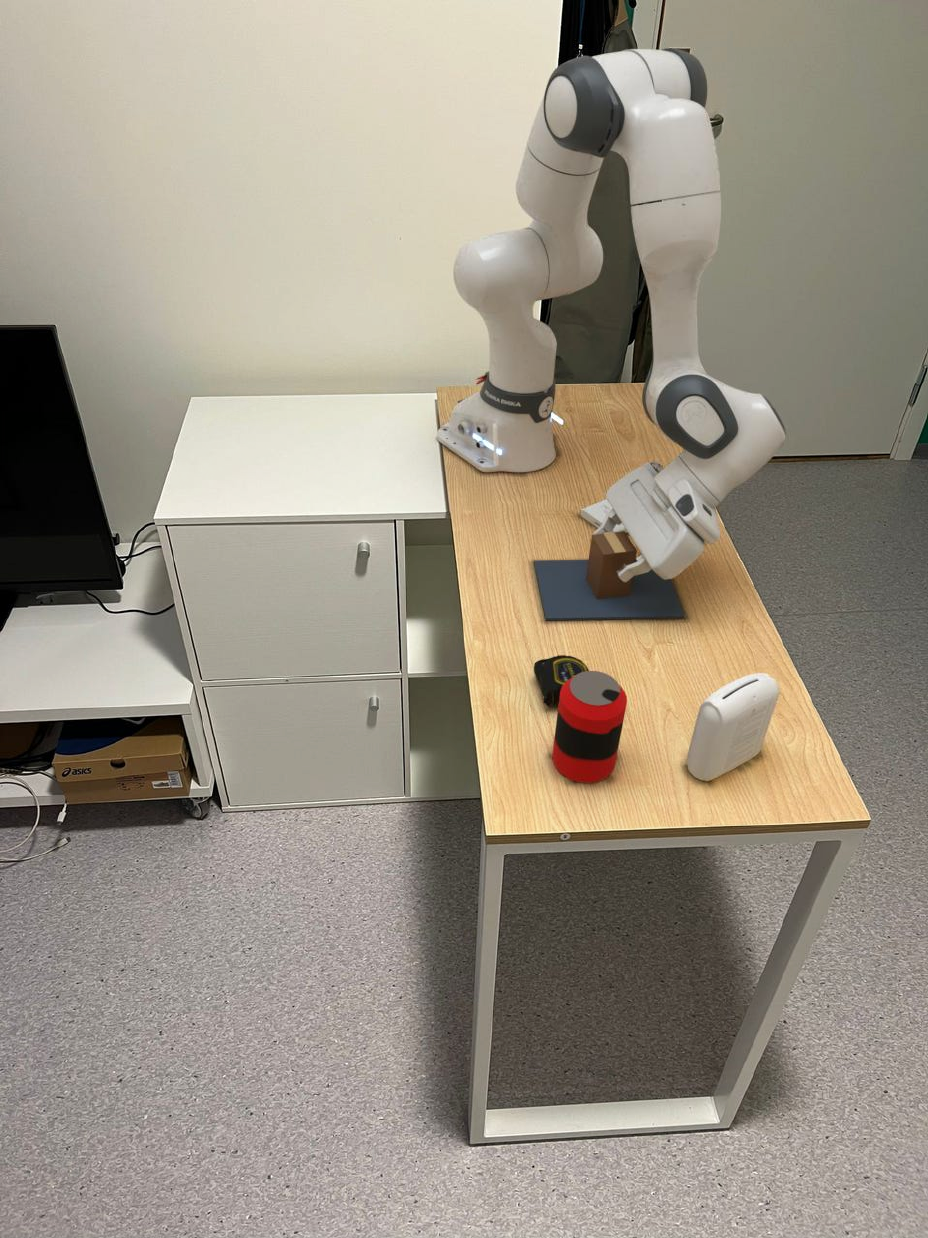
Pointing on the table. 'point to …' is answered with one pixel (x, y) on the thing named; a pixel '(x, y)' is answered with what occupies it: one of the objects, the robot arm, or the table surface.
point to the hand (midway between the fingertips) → (608, 557)
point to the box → (609, 564)
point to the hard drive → (599, 515)
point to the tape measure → (556, 675)
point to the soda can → (588, 726)
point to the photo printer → (732, 725)
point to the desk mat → (576, 600)
